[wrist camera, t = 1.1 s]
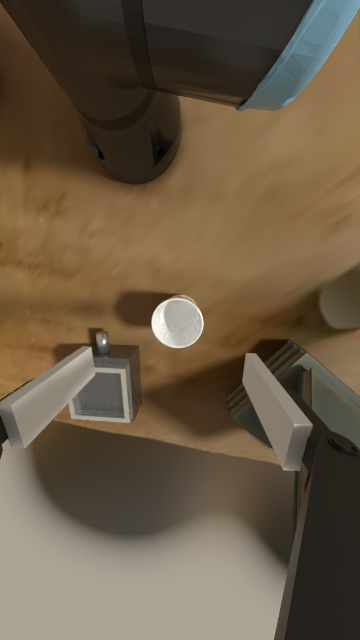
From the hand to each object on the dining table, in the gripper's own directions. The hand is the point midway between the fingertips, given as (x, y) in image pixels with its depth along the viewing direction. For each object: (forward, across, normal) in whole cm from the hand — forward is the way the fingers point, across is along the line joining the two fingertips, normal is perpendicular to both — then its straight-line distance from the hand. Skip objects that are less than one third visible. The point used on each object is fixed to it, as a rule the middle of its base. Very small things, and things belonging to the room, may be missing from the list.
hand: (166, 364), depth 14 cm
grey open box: (+21, -16, -14) cm, 30 cm away
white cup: (+22, 0, 0) cm, 22 cm away
